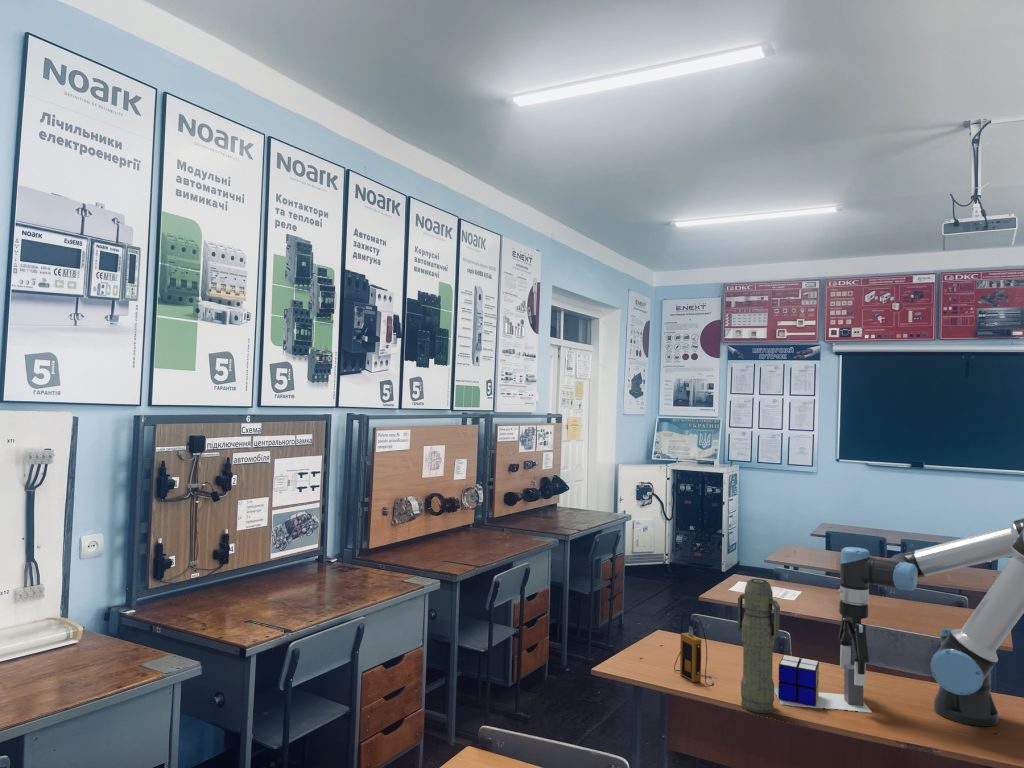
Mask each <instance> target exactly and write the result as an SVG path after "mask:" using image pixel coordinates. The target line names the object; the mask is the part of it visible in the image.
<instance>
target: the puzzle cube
mask: <svg viewBox="0 0 1024 768" xmlns="http://www.w3.org/2000/svg"><path fill="white" fill-rule="evenodd" d="M819 674H820V661H818V660H813V659H808V658H800V657H797V656H791V655H785V654H784V655H783V656H782V658H781V660H780V661H779V664H778V697H777V699H778V698H779V699H781V700H786V701H791V702H798V703H800V704H805V705H810V706H816V703H817V699H818V695H819V692H820V691H819V689H820V687H819V685H820V683H819V682H820V680H819V678H820V675H819ZM779 699H778V700H779Z"/></svg>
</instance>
